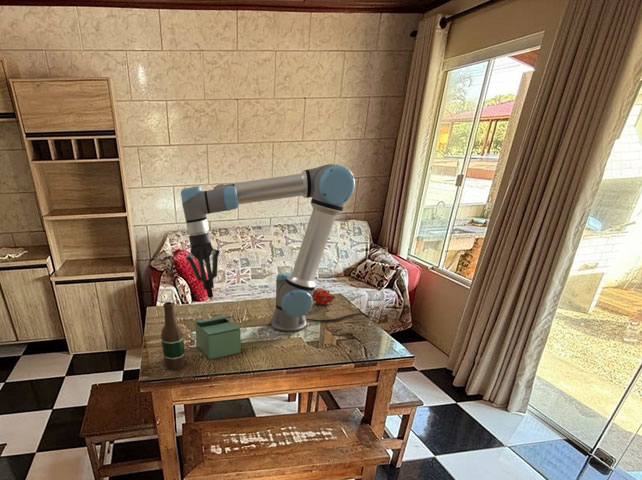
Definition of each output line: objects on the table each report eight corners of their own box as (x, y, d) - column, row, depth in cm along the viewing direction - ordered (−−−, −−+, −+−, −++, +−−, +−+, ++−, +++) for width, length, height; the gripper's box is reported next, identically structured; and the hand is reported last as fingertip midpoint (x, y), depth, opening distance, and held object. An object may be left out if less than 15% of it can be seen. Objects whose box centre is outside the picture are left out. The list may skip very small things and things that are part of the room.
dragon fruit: (308, 305, 206) (332, 310, 203) (307, 300, 198) (332, 305, 194) (313, 289, 206) (337, 294, 203) (312, 283, 198) (337, 289, 195)
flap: (194, 321, 161) (194, 320, 161) (224, 316, 165) (224, 315, 165) (200, 323, 154) (200, 322, 154) (231, 317, 158) (231, 316, 158)
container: (196, 344, 166) (194, 320, 161) (225, 338, 170) (224, 315, 165) (209, 359, 154) (208, 334, 149) (240, 352, 158) (240, 327, 153)
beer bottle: (190, 364, 151) (184, 302, 139) (174, 372, 146) (166, 308, 134) (176, 358, 155) (169, 298, 144) (160, 365, 150) (152, 303, 139)
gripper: (212, 229, 152) (223, 291, 162) (179, 236, 149) (192, 299, 159) (218, 230, 145) (229, 294, 155) (184, 237, 142) (197, 302, 152)
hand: (210, 296), depth 157 cm, fingers closed
